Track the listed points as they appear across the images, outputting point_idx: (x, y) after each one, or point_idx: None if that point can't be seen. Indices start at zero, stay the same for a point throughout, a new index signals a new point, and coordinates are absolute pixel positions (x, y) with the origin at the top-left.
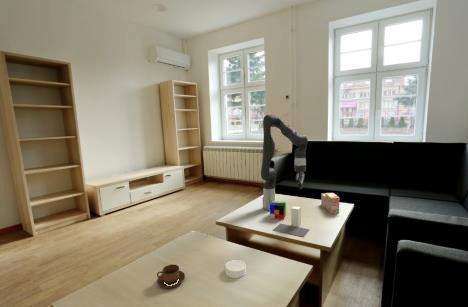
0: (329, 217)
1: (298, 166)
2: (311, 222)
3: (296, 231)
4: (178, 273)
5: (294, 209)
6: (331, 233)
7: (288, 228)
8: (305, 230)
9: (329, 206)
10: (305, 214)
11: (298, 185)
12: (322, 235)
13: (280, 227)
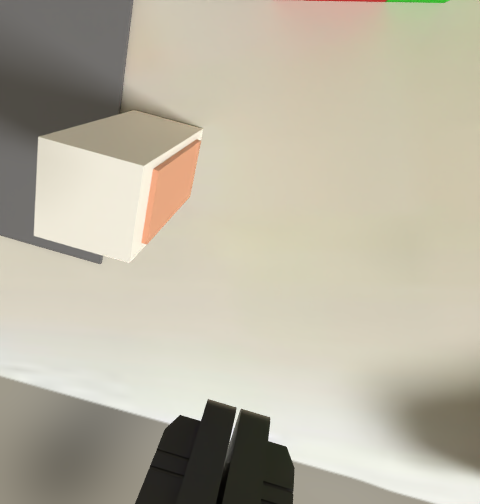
0: (400, 413)
1: None
2: (256, 279)
3: (22, 169)
4: None
5: (40, 183)
6: (101, 389)
7: (49, 93)
8: None
9: None
10: (462, 228)
11: (183, 476)
12: (49, 339)
13: (38, 8)
